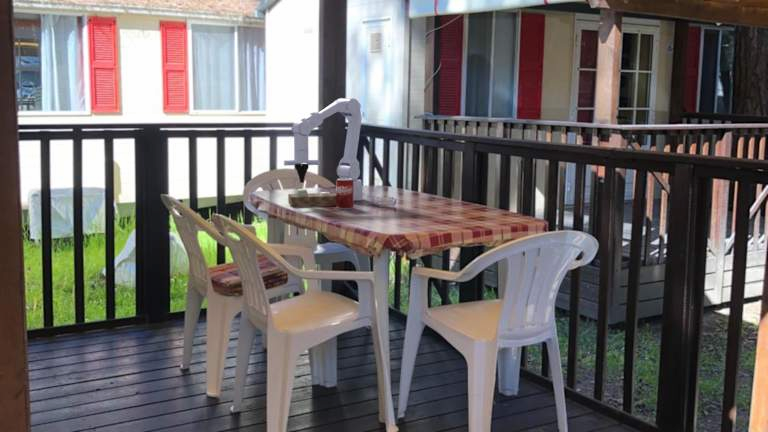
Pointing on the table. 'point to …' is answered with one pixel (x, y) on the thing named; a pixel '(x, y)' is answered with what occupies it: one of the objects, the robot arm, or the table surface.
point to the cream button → (324, 193)
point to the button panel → (312, 200)
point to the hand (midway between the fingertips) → (301, 182)
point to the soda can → (345, 193)
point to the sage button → (301, 192)
